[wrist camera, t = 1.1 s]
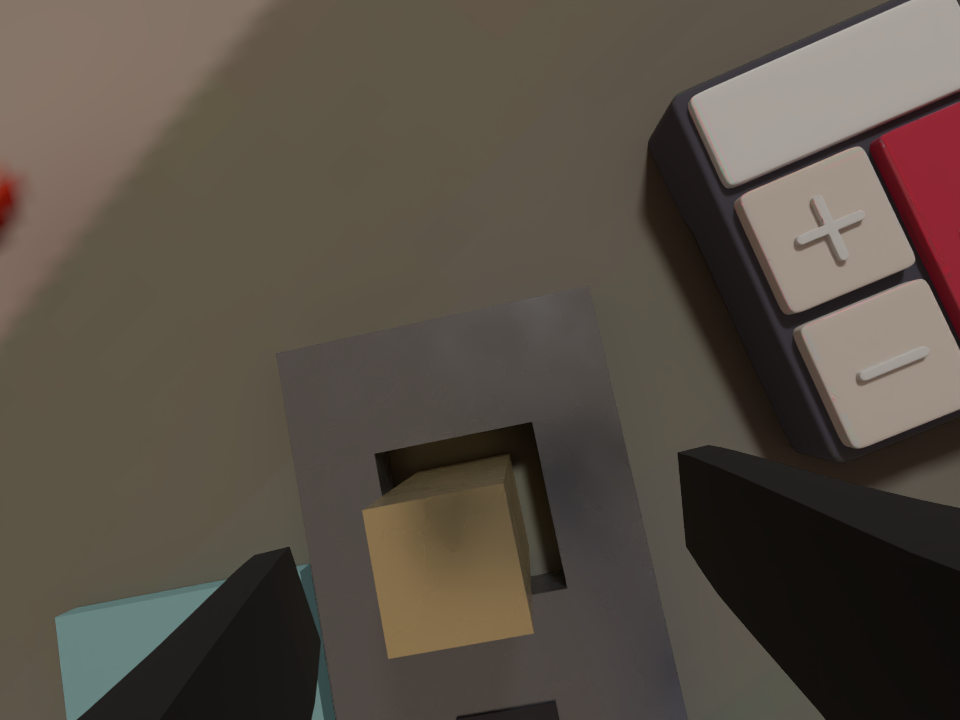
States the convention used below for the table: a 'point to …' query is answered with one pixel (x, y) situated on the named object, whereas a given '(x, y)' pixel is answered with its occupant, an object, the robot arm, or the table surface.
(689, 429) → the table surface
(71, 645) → the pad
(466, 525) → the wooden block
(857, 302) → the calculator
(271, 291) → the table surface
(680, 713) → the grey square-hole board
